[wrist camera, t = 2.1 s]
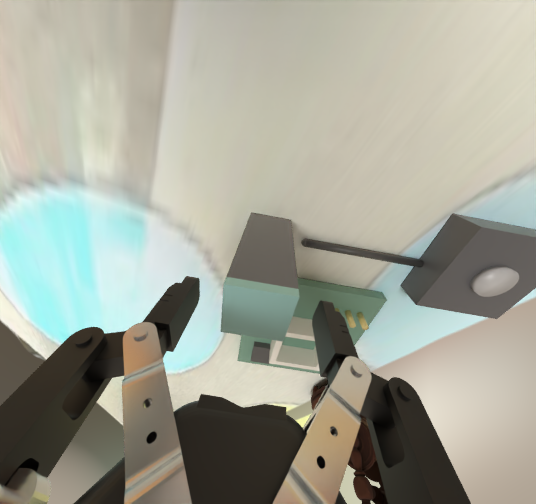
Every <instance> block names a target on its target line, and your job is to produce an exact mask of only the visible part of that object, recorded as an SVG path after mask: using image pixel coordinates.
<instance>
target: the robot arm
mask: <svg viewBox="0 0 536 504" xmlns="http://www.w3.org/2000/svg"><path fill="white" fill-rule="evenodd" d="M199 296H200V291H199V278H195V277H189V276H186V277H185V279H184V280H183V282H182V283H175V284H174V285H172V286H171V287H169V288H168V289H167V291H166V292H165V293H164V295H163V296H162V297H161V299H160V301H158V302H157V304H156V305H155V306H154V308H153V309H152V310H151V312H150V313H149V314H148V316H147V317H146V318H145V319H144V321H143V322H142V323H138V324H136V325H134V326H132V327H131V328H129V329H128V330H127V331H123V332H116V333H107V334H104V332H103V330H102V329H101V328H98V327H89V328H85V329H82V330H80V331H78V332H76V333H74V334H73V335H71V336H70V337H69V338H68V339H67V340H66V341H65V342H64V343H63V344H62V345H61V346H60V347H59V348H58V349H57V350H56V351H55V352H54V353H53V354H52V355H51V356H50V357H49V358H48V359H47V360H46V361H45V362H44V363H43V364H42V365H41V366H40V367H39V368H38V369H37V370H36V371H35V372H34V373H33V374H32V375H31V376H30V377H29V378H28V379H27V380H26V381H25V382H24V383H23V384H22V385H21V386H20V387H19V388H18V389H17V390H16V391H15V392H14V393H13V394H12V395H11V396H10V397H9V398H8V399H7V400H6V401H5V402H4V403H3V404H2V405H1V406H0V504H47V502H48V499H49V497H50V493H51V483H50V481H49V479H48V478H47V477H48V476H49V474H50V473H51V471H52V470H53V468H54V467H55V465H56V463H57V462H58V460H59V459H60V457H61V456H62V454H63V453H64V451H65V450H66V448H67V446H68V445H69V443H70V442H71V440H72V439H73V437H74V436H75V434H76V433H77V431H78V430H79V428H80V426H81V425H82V423H83V422H84V420H85V419H86V417H87V416H88V414H89V413H90V411H91V409H92V408H93V406H94V405H95V403H96V402H97V400H98V399H99V397H100V396H101V394H102V393H103V391H104V389H105V388H106V386H107V385H108V383H109V382H110V380H111V379H112V378H113V377H119V376H124V380H123V381H122V400H123V427H124V451H125V452H124V455H125V457H124V458H123V459H122V460H120V461H119V462H118V463H117V464H116V465H115V466H114V467H113V468H112V469H111V470H110V471H108V472H107V473H106V474H105V475H104V476H103V477H102V478H101V479H100V480H99V481H98V482H97V483H96V484H94V485H93V486H92V487H91V488H90V489H89V490H88V491H87V492H86V493H85V494H84V495H82V496H81V497H80V498H79V499H78V500H77V501H76V502H75V503H74V504H347V503H346V502H345V500H344V498H343V497H342V495H341V493H340V491H339V489H340V486H341V483H342V480H343V477H344V474H345V471H346V467H347V464H348V461H349V458H350V455H351V452H352V449H353V446H354V443H355V440H356V437H357V433H358V430H359V427H360V424H361V417H360V414H361V415H362V416H364V417H366V420H367V424H368V428H369V432H370V435H371V439H372V443H373V447H374V451H375V455H376V459H377V463H378V467H379V470H380V474H381V478H382V482H383V486H384V490H385V494H386V498H387V502H388V504H471V503H470V501H469V499H468V496H467V494H466V492H465V491H464V488H463V486H462V484H461V482H460V480H459V478H458V476H457V474H456V472H455V470H454V468H453V466H452V464H451V462H450V459H449V458H448V455H447V453H446V451H445V449H444V447H443V445H442V443H441V441H440V439H439V437H438V435H437V433H436V431H435V429H434V427H433V425H432V423H431V421H430V418H429V416H428V414H427V412H426V410H425V408H424V406H423V404H422V402H421V400H420V398H419V396H418V394H417V392H416V391H415V390H414V388H413V387H412V386H411V385H409V384H408V383H407V382H406V381H404V380H402V379H400V378H396V377H394V378H391V379H390V380H389V381H387V380H385V379H383V378H381V377H379V376H377V375H375V374H373V373H371V372H370V370H369V368H368V367H367V365H366V364H365V363H364V362H363V361H362V360H360V359H359V358H358V355H357V352H356V349H355V347H354V344H353V341H352V338H351V335H350V334H349V329H348V328H347V324H346V321H345V318H344V317H343V316H342V315H341V313H340V312H338V311H335V308H334V305H333V303H332V302H328V301H322V300H320V301H319V304H318V306H317V308H316V310H315V313H314V315H313V318H312V327H313V333H314V339H315V345H316V351H317V357H318V364H319V370H320V376H321V377H327V379H328V384H327V386H326V388H325V390H324V391H323V393H322V395H321V397H320V399H319V401H318V403H317V404H316V406H315V408H314V410H313V412H312V414H311V415H310V417H309V419H308V420H307V422H306V424H305V425H304V427H303V428H302V427H301V426H300V425H299V424H298V423H297V422H296V421H295V420H294V419H293V418H291V417H290V416H288V415H286V407H280V406H274V405H268V404H263V405H257V406H251V407H245V408H243V407H240V406H238V405H236V404H234V403H232V402H230V401H228V400H226V399H224V398H222V397H216V396H210V395H203V394H201V395H200V398H199V401H195V402H191V403H188V404H186V405H184V406H182V407H180V408H179V409H177V410H176V411H174V412H173V407H172V402H171V397H170V392H169V387H168V382H167V377H166V372H165V367H164V363H163V357H164V355H165V353H166V351H171V352H173V351H174V349H175V347H176V345H177V343H178V341H179V339H180V337H181V335H182V333H183V331H184V330H185V328H186V326H187V324H188V322H189V320H190V318H191V316H192V314H193V312H194V310H195V308H196V306H197V304H198V301H199Z"/></svg>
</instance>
